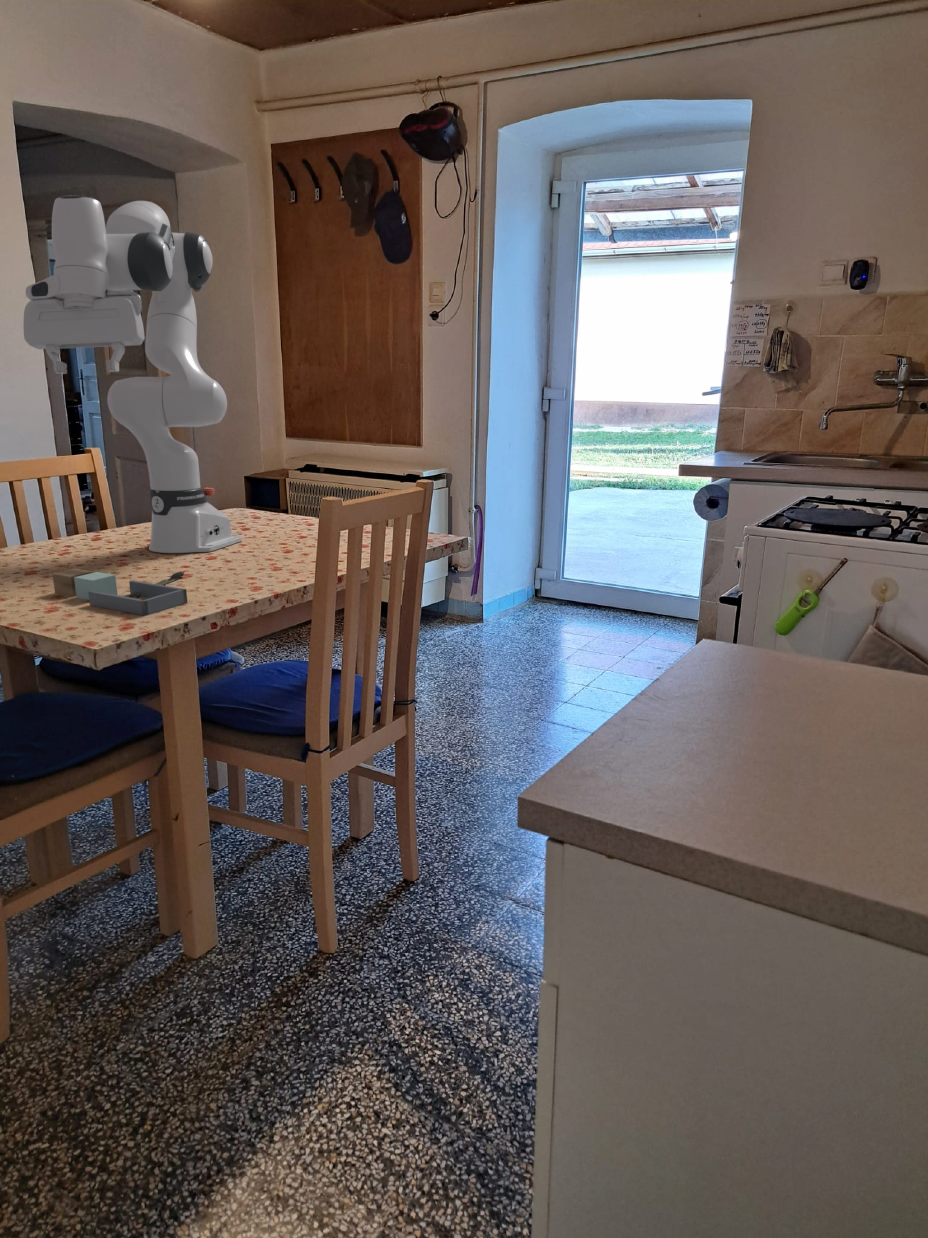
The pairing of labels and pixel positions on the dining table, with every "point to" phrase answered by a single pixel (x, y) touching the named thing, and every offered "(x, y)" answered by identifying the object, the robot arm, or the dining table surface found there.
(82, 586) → the pale blue cube
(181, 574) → the tactical tomahawk
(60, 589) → the brown block
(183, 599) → the tray
